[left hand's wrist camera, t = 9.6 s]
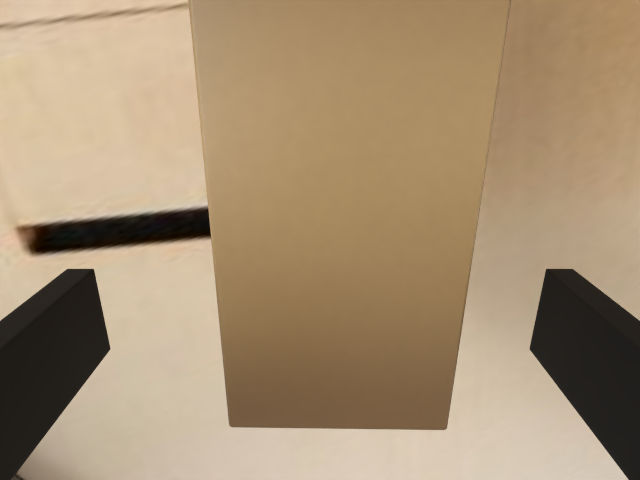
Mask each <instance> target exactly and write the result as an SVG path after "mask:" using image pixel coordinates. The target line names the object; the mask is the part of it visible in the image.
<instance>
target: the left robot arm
mask: <svg viewBox="0 0 640 480" xmlns="http://www.w3.org/2000/svg"><path fill="white" fill-rule="evenodd" d="M109 350H110V345H109V340H108V335H107V330H106V326H105V321H104V316H103V311H102V306H101V302H100V297H99V292H98V287H97V282H96V277H95V273H94V269H67V270H65V271H64V272H63V273H62V274H60V275H59V276H58V277H56V278H55V279H54V280H53V281H51V282H50V283H49V284H47V285H46V286H45V287H44V288H42V289H41V290H40V291H38V292H37V293H36V294H35V295H33V296H32V297H31V298H29V299H28V300H27V301H25V302H24V303H23V304H22V305H20V306H19V307H18V308H16V309H15V310H14V311H13V312H11V313H10V314H9V315H7V316H6V317H5V318H4V319H2V320H1V321H0V480H20V479H19V478H17V477H16V476H15V474H16V473H17V471H18V470H19V469H20V467H21V466H22V465H23V463H24V462H25V461H26V459H27V458H28V457H29V456H30V454H31V453H32V452H33V450H34V449H35V448H36V446H37V445H38V444H39V442H40V441H41V440H42V438H43V437H44V436H45V434H46V433H47V432H48V430H49V429H50V428H51V427H52V425H53V424H54V423H55V421H56V420H57V419H58V417H59V416H60V415H61V413H62V412H63V411H64V409H65V408H66V407H67V405H68V404H69V403H70V402H71V400H72V399H73V398H74V396H75V395H76V394H77V392H78V391H79V390H80V388H81V387H82V386H83V384H84V383H85V382H86V380H87V379H88V378H89V377H90V375H91V374H92V373H93V371H94V370H95V369H96V367H97V366H98V365H99V363H100V362H101V361H102V359H103V358H104V357H105V355H106V354H107V353H108V352H109ZM530 350H531V352H532V353H533V354H534V355H535V357H536V358H537V359H538V361H539V362H540V363H541V365H542V366H543V367H544V369H545V370H546V371H547V373H548V374H549V375H550V377H551V378H552V379H553V380H554V382H555V383H556V384H557V386H558V387H559V388H560V390H561V391H562V392H563V394H564V395H565V396H566V398H567V399H568V400H569V402H570V403H571V404H572V405H573V407H574V408H575V409H576V411H577V412H578V413H579V415H580V416H581V417H582V419H583V420H584V421H585V423H586V424H587V425H588V427H589V428H590V429H591V430H592V432H593V433H594V434H595V436H596V437H597V438H598V440H599V441H600V442H601V444H602V445H603V446H604V448H605V449H606V450H607V452H608V453H609V454H610V456H611V457H612V458H613V459H614V461H615V462H616V463H617V465H618V466H619V467H620V469H621V470H622V471H623V473H624V474H625V475H626V477H627V478H628V479H629V480H640V321H639V320H638V319H636V318H635V317H634V316H633V315H631V314H630V313H629V312H627V311H626V310H625V309H624V308H622V307H621V306H620V305H618V304H617V303H616V302H615V301H613V300H612V299H611V298H609V297H608V296H607V295H605V294H604V293H603V292H602V291H600V290H599V289H598V288H596V287H595V286H594V285H593V284H591V283H590V282H589V281H587V280H586V279H585V278H584V277H582V276H581V275H580V274H578V273H577V272H576V271H575V270H573V269H546V273H545V277H544V282H543V287H542V292H541V297H540V302H539V306H538V311H537V316H536V321H535V326H534V330H533V335H532V340H531V345H530Z"/></svg>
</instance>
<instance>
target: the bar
mask: <svg viewBox="0 0 640 480" xmlns="http://www.w3.org/2000/svg"><path fill="white" fill-rule="evenodd" d="M510 3H511V0H189V11H190V21H191V32H192V42H193V53H194V63H195V73H196V84H197V94H198V105H199V115H200V126H201V136H202V146H203V157H204V167H205V178H206V188H207V199H208V209H209V219H210V230H211V240H212V251H213V261H214V272H215V282H216V292H217V303H218V313H219V324H220V334H221V345H222V355H223V365H224V376H225V386H226V397H227V407H228V418H229V425H230V427H259V428H335V429H412V430H445V429H447V424H448V417H449V410H450V404H451V397H452V390H453V384H454V377H455V370H456V364H457V357H458V350H459V344H460V337H461V330H462V324H463V317H464V310H465V303H466V297H467V290H468V283H469V277H470V270H471V263H472V257H473V250H474V243H475V237H476V230H477V223H478V217H479V210H480V203H481V197H482V190H483V183H484V177H485V170H486V163H487V156H488V150H489V143H490V136H491V130H492V123H493V116H494V110H495V103H496V96H497V90H498V83H499V76H500V70H501V63H502V56H503V50H504V43H505V36H506V30H507V23H508V16H509V10H510Z"/></svg>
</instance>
